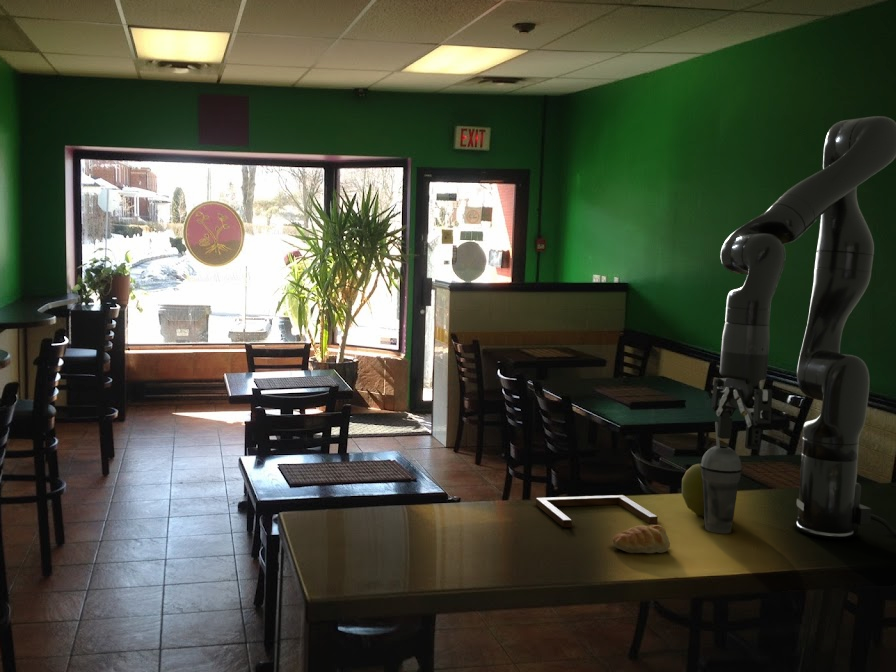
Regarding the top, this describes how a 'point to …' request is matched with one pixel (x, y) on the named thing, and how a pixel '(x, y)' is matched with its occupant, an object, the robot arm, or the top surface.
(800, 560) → the top surface
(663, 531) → the pastry
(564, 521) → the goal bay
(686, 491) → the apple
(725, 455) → the beverage cup
